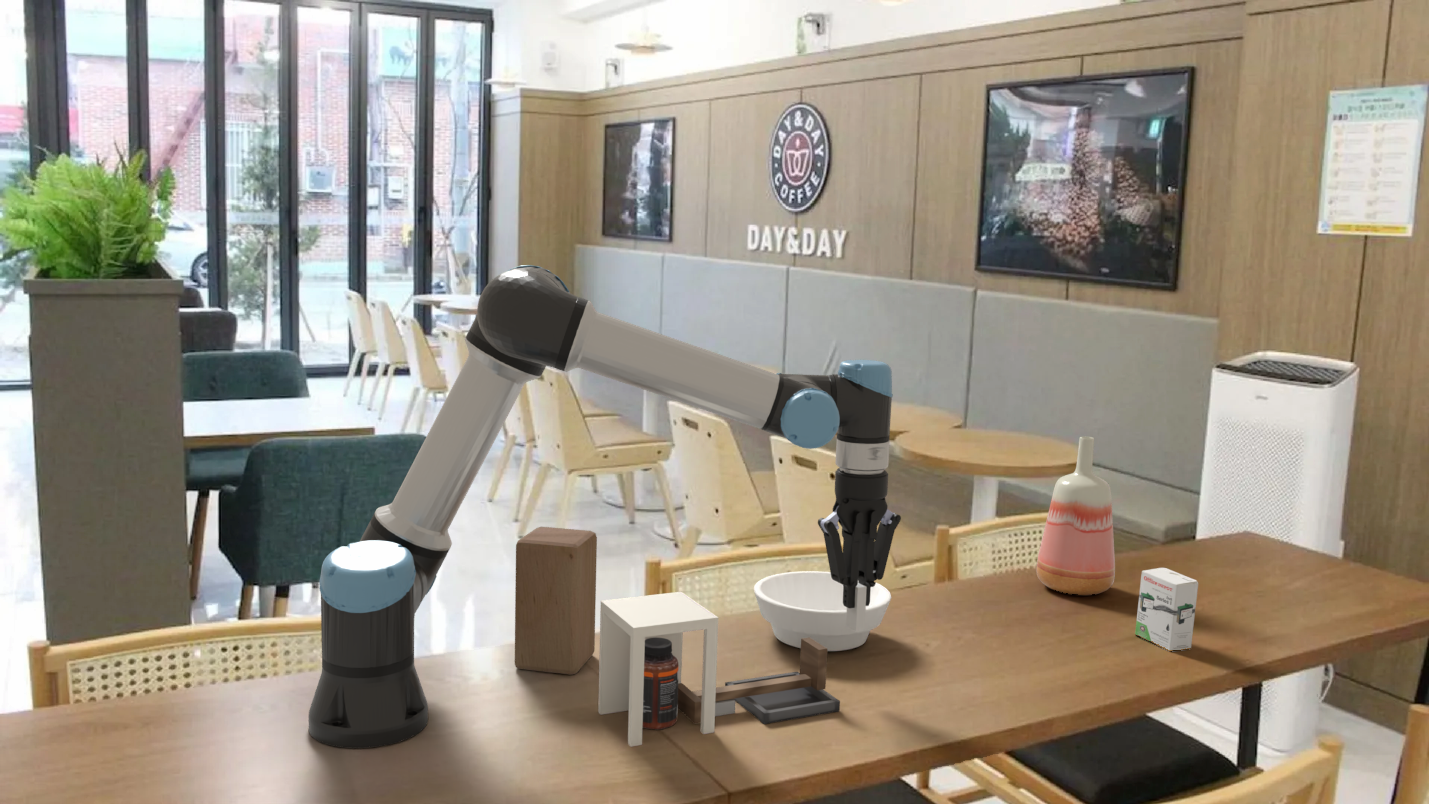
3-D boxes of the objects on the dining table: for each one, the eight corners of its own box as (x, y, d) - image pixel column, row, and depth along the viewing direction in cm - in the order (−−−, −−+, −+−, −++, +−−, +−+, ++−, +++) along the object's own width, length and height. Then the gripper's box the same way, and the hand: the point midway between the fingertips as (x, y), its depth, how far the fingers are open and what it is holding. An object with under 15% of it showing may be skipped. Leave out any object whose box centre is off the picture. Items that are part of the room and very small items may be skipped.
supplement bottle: (684, 719, 163) (687, 639, 162) (664, 735, 158) (667, 652, 156) (646, 710, 166) (648, 631, 164) (625, 725, 161) (627, 644, 159)
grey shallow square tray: (764, 724, 163) (764, 713, 162) (724, 692, 173) (725, 682, 173) (839, 711, 168) (840, 701, 168) (796, 681, 178) (797, 671, 178)
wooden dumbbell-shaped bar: (694, 723, 161) (696, 670, 160) (673, 704, 167) (674, 653, 166) (828, 701, 170) (831, 650, 169) (803, 684, 176) (806, 635, 175)
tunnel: (630, 746, 154) (633, 627, 152) (598, 712, 165) (600, 600, 162) (750, 726, 162) (755, 612, 159) (712, 694, 172) (716, 587, 170)
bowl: (733, 650, 191) (735, 599, 190) (775, 610, 212) (777, 564, 211) (871, 672, 183) (874, 620, 182) (901, 628, 204) (903, 581, 203)
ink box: (1133, 635, 205) (1139, 568, 203) (1155, 632, 206) (1161, 566, 205) (1170, 652, 197) (1176, 583, 195) (1193, 649, 199) (1200, 580, 197)
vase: (1116, 585, 234) (1129, 435, 230) (1108, 605, 221) (1122, 447, 217) (1041, 574, 240) (1052, 428, 236) (1029, 593, 227) (1040, 439, 222)
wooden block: (576, 677, 177) (578, 546, 174) (512, 670, 179) (513, 540, 176) (596, 654, 187) (599, 529, 184) (535, 648, 188) (537, 524, 186)
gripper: (836, 477, 165) (830, 642, 168) (915, 470, 170) (907, 630, 174) (809, 467, 171) (803, 625, 175) (885, 461, 177) (878, 614, 180)
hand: (855, 627), depth 174 cm, fingers closed
